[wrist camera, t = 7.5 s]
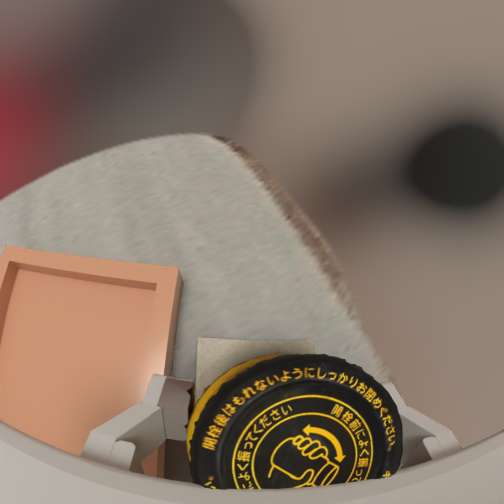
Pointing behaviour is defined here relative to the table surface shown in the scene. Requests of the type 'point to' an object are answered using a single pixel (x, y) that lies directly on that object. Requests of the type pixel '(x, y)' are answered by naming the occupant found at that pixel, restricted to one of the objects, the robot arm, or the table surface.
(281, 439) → the condiment
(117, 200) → the table surface
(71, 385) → the tray
